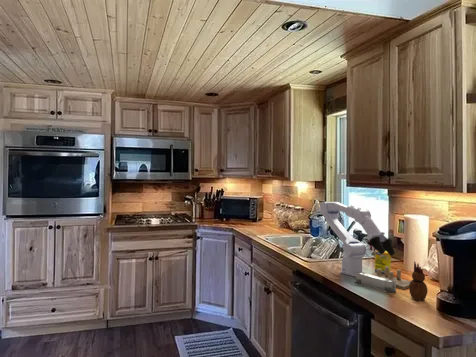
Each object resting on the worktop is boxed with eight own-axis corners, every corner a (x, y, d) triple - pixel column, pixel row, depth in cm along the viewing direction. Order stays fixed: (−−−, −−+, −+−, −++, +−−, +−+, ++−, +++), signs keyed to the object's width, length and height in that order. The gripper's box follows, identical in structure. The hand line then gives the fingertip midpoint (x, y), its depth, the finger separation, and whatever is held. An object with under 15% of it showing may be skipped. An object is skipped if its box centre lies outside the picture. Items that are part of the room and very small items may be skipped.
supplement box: (374, 272, 182) (375, 251, 182) (379, 270, 186) (379, 249, 186) (385, 274, 178) (386, 253, 177) (390, 272, 182) (391, 251, 182)
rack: (363, 278, 170) (363, 266, 170) (375, 274, 177) (375, 263, 177) (403, 289, 154) (404, 276, 154) (415, 285, 161) (416, 272, 161)
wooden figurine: (406, 296, 145) (407, 260, 145) (419, 296, 146) (420, 260, 146) (415, 302, 139) (416, 264, 138) (429, 302, 139) (430, 264, 139)
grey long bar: (353, 282, 163) (353, 272, 163) (358, 280, 166) (359, 271, 166) (392, 293, 148) (392, 283, 148) (397, 291, 151) (398, 281, 151)
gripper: (368, 222, 160) (385, 246, 151) (386, 226, 168) (403, 250, 159) (357, 232, 164) (373, 256, 155) (376, 236, 172) (392, 259, 162)
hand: (388, 253), depth 157 cm, fingers open, 7 cm apart
